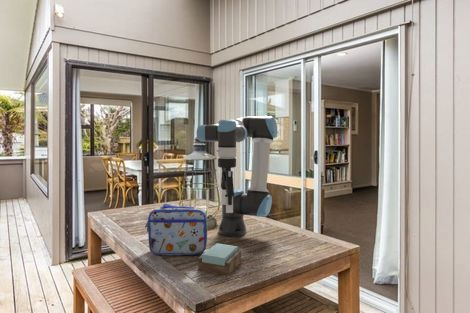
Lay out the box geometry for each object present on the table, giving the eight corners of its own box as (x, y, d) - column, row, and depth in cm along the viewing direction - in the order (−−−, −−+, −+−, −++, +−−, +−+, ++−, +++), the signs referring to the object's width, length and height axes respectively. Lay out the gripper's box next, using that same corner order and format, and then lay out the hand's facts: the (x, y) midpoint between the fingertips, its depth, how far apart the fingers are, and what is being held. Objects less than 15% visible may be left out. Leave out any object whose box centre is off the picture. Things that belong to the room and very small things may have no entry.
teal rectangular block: (216, 250, 140) (216, 243, 140) (237, 253, 136) (237, 246, 136) (202, 261, 127) (202, 254, 127) (224, 265, 123) (224, 258, 123)
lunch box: (143, 257, 140) (143, 207, 139) (149, 248, 151) (148, 202, 149) (206, 257, 141) (207, 207, 140) (208, 248, 152) (208, 202, 150)
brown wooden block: (213, 257, 141) (213, 246, 140) (241, 262, 136) (241, 250, 136) (198, 270, 128) (198, 257, 127) (228, 275, 123) (228, 262, 123)
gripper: (214, 155, 144) (214, 201, 146) (222, 160, 120) (222, 216, 122) (231, 154, 146) (231, 201, 147) (241, 160, 121) (241, 216, 123)
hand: (226, 208), depth 135 cm, fingers open, 13 cm apart
